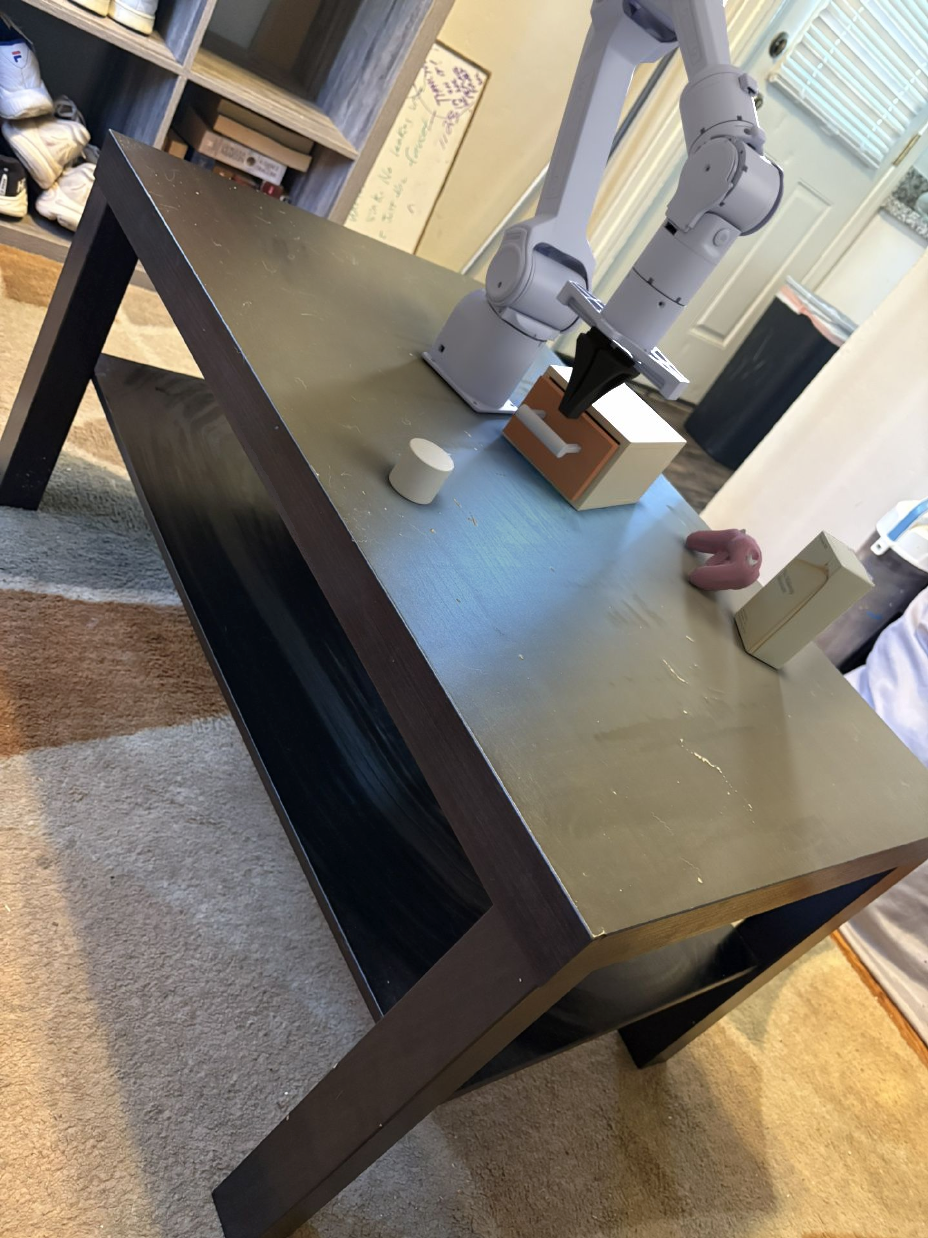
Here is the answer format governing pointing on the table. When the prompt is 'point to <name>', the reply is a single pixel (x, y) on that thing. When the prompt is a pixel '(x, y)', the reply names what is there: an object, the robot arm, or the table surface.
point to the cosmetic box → (802, 600)
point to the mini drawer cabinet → (622, 446)
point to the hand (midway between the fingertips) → (567, 414)
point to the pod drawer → (560, 439)
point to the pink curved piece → (725, 559)
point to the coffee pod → (421, 471)
